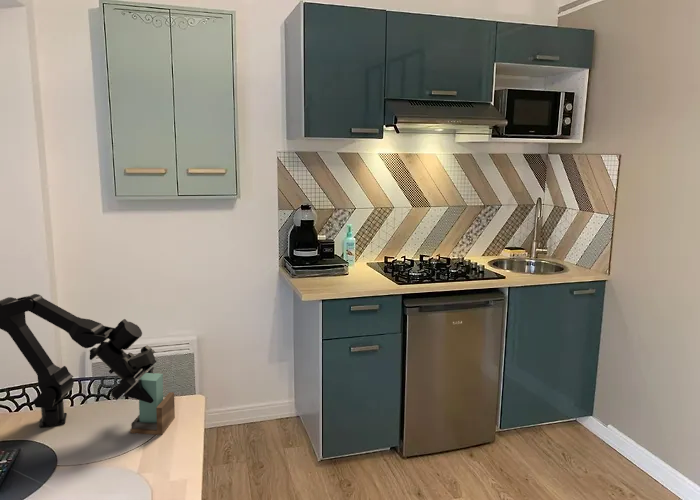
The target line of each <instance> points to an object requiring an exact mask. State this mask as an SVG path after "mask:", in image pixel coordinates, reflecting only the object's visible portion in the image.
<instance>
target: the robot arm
mask: <svg viewBox="0 0 700 500" xmlns="http://www.w3.org/2000/svg"><path fill="white" fill-rule="evenodd" d="M26 312H30V313H32V314H33V315H35V316H37V317H39V318H41V319H42V320H45V322H46V321H47V322H48V323H50V324H52V325H53V326H55V327H57V328H59V329H61V330H63V331H65V332H66V333H67V334H68V335H69V336H70V338H71V340H73V342H75V343H76V344H78V345H79V346H80V347H82V348H84V349H89V358H88V359H89V361H92V360H94V358H96V357H97V358H99V360H101V361H102V362H103V364H105V365H106V366H107V367H108V368H109V371H108V373H109V374H110V375H112V374H113V373H114V374H115V376H117V377H118V378H119V379H120V380H119V381H118V382H119V383H118V384H117V385H116V386H115V387H114V388H113V389H112V390H111V391H110V393H111V394H110V395H111V397H112V398H113V399H115V401H117V400H119V399H120V398H121V397H123V398H125V397H126V398H131V399H135V400H138V401H139V400H141V401H145V402H148V403H152V402H153V401H154V400H153V399H152V397H151V396H150V395H149V394H148V393H147V391H146V390H145V389H144V388H143V387H142V380H141V379H140V378H141V377H142V376H143V375H144V374H145V373H154V369H155V367H154V365H155V364H156V363H157V360H156V357H155V355H154V354H155V351H156V350H154V349H152V347H150V346H149V345H145V346H143V347H142V348H141V349H140V352H138V353H137V354H133V353H132V352H128V353H127V352H126V351H125V350H128V349H129V348H131V346H132V345H134V343H135V342H137V341H138V339H140V338H141V337H142V335H143V331H142V329H141V327H140V326H139V325H138V324H135V322H131V321H128V320H127V319H125V318H124V319H122V320H121V321H119V322H118V324H117V326H115V327H111V326H106V325H104V324H103V323H100V322H99V321H95V320H93V319H90V318H89V319H88V318H82V317H79V316H76V314H73V313H71V312H69V311H67V310H66V309H64V308H63V307H60V306H58V305H56V303H54V302H51V301H49V300H47V299H46V298H44V297H43V295H41V294H37V293H33V294H31V295H26V296H22V297H18V298H15V297H10V296H9V297H5V298H3V299H0V330H2V331H4V332H6V333H7V334H8V335H9V336H10V339H12V341H13V342H14V343H15V345H16V346H17V348H18V350H20V352H21V354H22V355H23V356H24V358H25V360H26V361H27V362H28V364H29V365H30V366H31V368H32V370H33V371H34V373H35V374H36V376H37V386H38V389H39V390H40V394H39V395H37V396H36V397H35V398H34V399H33V400H32V401H33V402H32V403H33V405H34V407H35V408H37V409H38V408H40V411H41V412H40V413H41V417H40V422H39V425H38V426H39V428H47V427H54V426H61V425H65V424H66V420H67V415H68V414H67V413H68V412H65V407H64V398H66V397H67V396H68V395H69V392H70V391H71V390H72V389H73V388H74V383H75V381H74V379H73V378H74V376H73V374H71V373H70V370H69V369H68V367H67V366H66V365H63V366H62V367H60V366H58V365H56V364H55V363H54V362H53V361H52V359H51V358H50V356H49V355H48V353H47V352H46V350H45V349H44V347H43V346H42V344H41V343H40V341H39V340H38V339H37V337H36V336H35V334H34V332H32V330H31V329H30V327H29V325H28V324H27V321H26ZM108 339H109V340H108ZM107 340H108V341H107ZM96 345H98V346H96ZM95 346H96V347H95ZM90 348H91V349H90ZM139 379H140V380H139Z"/></svg>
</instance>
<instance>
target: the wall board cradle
mask: <svg viewBox="0 0 700 500" xmlns="http://www.w3.org/2000/svg"><path fill="white" fill-rule="evenodd" d="M175 405H176V404H175V392H171V391H170V392H168V393H167V394H166V395H165V396H164V397H163V400H162V402H161V403H160V404H159V405H158V406H157V408H156V413H157V423H145V422H140V418H139V415H137V417H135V419H134V420H133V421H132V422H131V424H130V425H131V429H130V434H135V433H138V434H140V435H157V436H158V435H163V434H164V433H165V432H166V431H167V429H168V428H169V426H170V425H171V424H172V422H173V421H174V420H175V419H176V414H175V411H176V409H175Z"/></svg>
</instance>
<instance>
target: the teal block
mask: <svg viewBox="0 0 700 500" xmlns="http://www.w3.org/2000/svg"><path fill="white" fill-rule="evenodd" d="M140 379H141V380H142V387H143V388H144V389H145V390H146V391H147V393H148V394H149V395H150V396H151V397H152V399H153V400H154V401H153V402H152V403H148V402H145V401H141V400H138V409H139V410H138V411H139V412H138V416H139V418H140V422H145V423H157V413H156V408H157V406H158V405H159V404H160V403H161V402H162V400H163V399H164V374H163V373H158V372H157V373H155V372H153V373H145V374H144V375H143V376H142V377H141V378H140ZM140 379H139V380H140Z"/></svg>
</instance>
